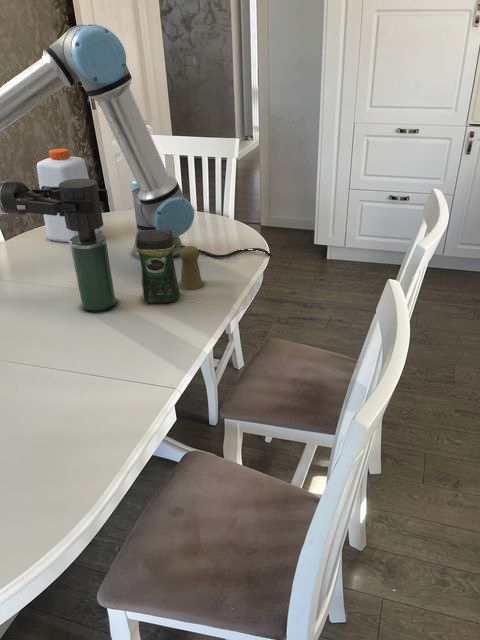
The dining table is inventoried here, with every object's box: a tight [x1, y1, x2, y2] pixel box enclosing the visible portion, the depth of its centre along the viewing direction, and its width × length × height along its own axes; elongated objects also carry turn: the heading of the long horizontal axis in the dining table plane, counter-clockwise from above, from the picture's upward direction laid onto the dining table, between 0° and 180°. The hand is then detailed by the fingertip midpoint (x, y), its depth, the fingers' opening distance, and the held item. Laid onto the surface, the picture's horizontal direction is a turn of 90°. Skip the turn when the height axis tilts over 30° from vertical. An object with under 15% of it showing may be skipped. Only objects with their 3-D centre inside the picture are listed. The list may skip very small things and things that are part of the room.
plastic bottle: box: [36, 148, 102, 244], centre depth 179 cm, size 15×15×28 cm
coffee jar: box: [135, 229, 181, 304], centre depth 140 cm, size 10×8×19 cm
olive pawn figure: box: [178, 245, 203, 291], centre depth 149 cm, size 6×6×11 cm
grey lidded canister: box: [59, 178, 104, 231], centre depth 127 cm, size 8×8×10 cm
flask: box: [69, 230, 117, 314], centre depth 135 cm, size 8×8×22 cm
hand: (100, 201), depth 127 cm, fingers closed on grey lidded canister, 9 cm apart
